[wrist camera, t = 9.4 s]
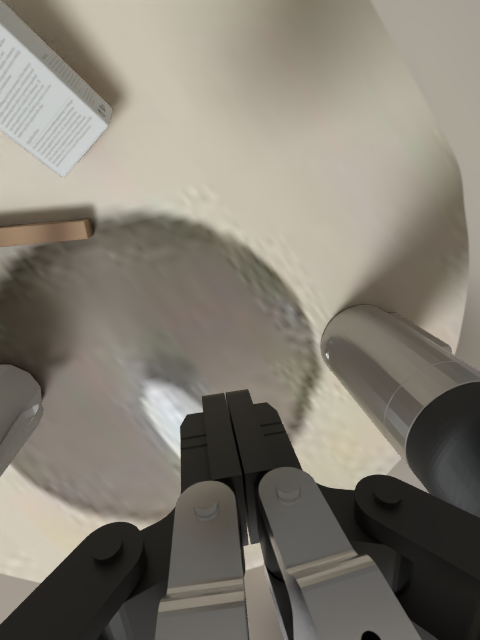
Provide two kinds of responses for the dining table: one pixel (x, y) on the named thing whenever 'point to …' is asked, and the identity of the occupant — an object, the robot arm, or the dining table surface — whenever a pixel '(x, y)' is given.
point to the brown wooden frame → (45, 232)
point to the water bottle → (17, 411)
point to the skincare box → (45, 99)
